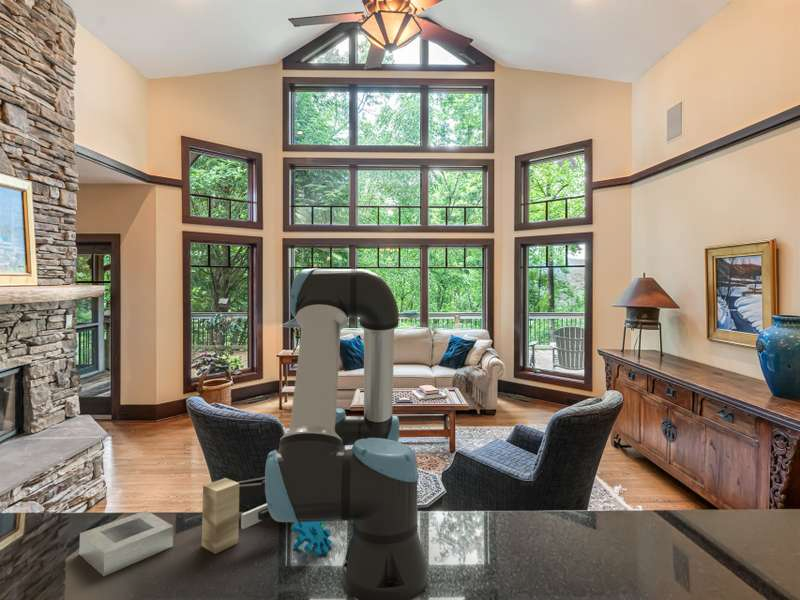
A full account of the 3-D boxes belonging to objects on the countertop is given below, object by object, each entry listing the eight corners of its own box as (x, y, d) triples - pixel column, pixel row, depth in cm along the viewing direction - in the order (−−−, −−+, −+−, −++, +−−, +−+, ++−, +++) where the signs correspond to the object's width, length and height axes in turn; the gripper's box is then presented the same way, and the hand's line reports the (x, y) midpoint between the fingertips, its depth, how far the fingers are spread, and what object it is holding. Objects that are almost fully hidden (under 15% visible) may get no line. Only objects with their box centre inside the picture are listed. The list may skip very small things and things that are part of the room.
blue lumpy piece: (316, 560, 76) (287, 512, 79) (295, 580, 76) (266, 533, 80) (343, 538, 86) (316, 497, 89) (324, 557, 86) (297, 515, 90)
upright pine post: (238, 542, 85) (239, 483, 85) (215, 554, 80) (216, 491, 81) (224, 535, 87) (225, 477, 88) (201, 545, 83) (203, 485, 84)
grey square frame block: (172, 546, 83) (173, 526, 83) (103, 576, 73) (104, 553, 74) (145, 529, 90) (146, 510, 90) (79, 554, 80) (79, 533, 80)
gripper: (338, 508, 95) (259, 550, 78) (270, 483, 110) (191, 514, 92) (338, 475, 95) (260, 509, 78) (271, 455, 110) (192, 480, 93)
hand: (222, 512), depth 85 cm, fingers open, 13 cm apart
